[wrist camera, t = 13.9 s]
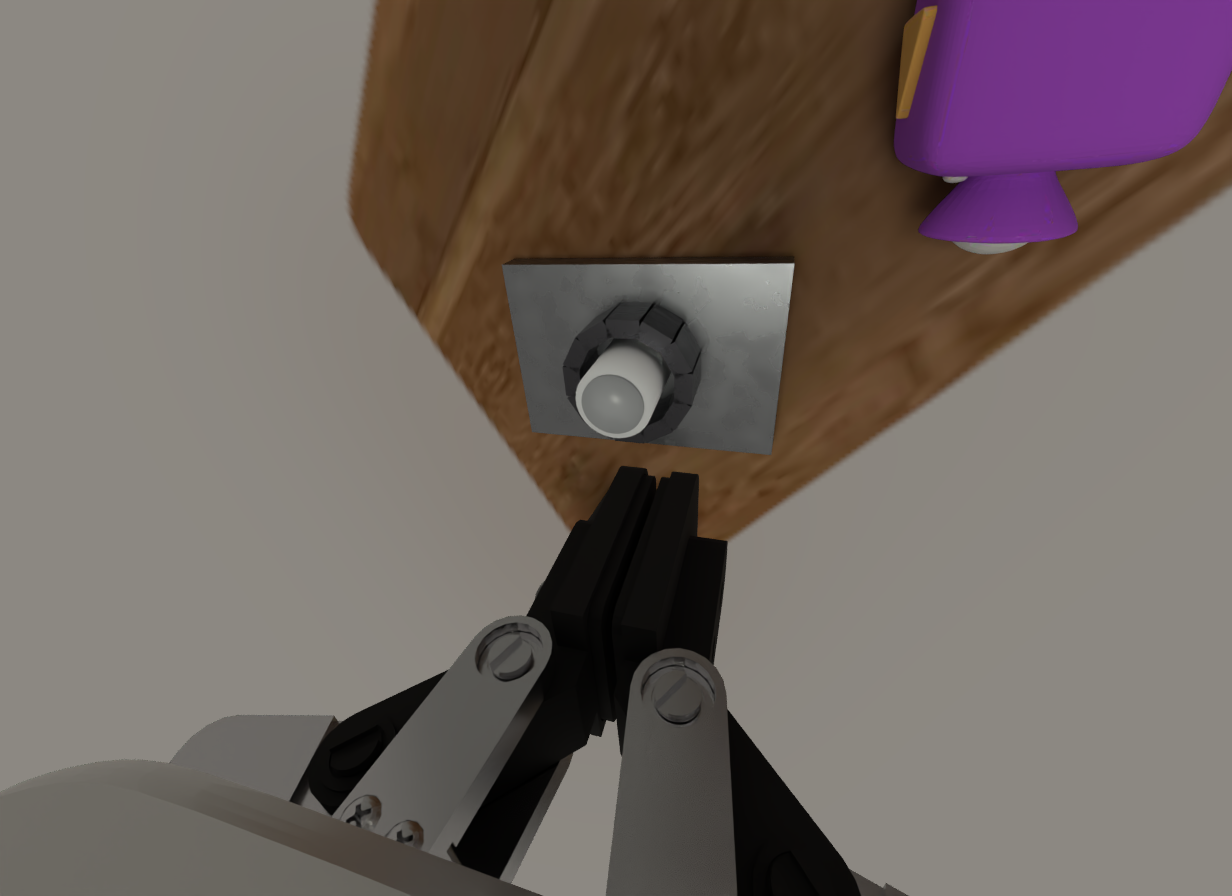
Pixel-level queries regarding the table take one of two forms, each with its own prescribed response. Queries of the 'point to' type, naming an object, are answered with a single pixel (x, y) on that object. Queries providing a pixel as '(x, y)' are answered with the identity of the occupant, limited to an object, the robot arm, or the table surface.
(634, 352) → the white cylinder
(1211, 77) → the toy camera
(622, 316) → the lens mount
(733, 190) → the table surface
